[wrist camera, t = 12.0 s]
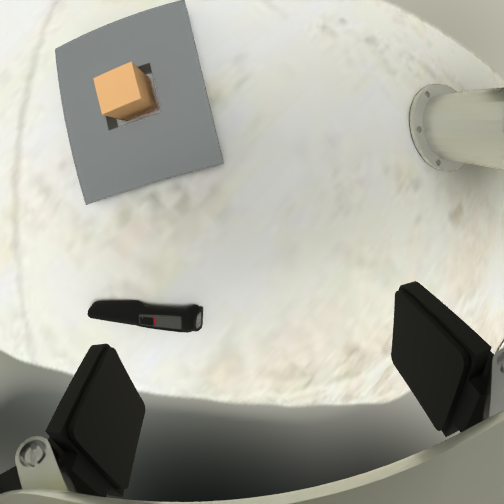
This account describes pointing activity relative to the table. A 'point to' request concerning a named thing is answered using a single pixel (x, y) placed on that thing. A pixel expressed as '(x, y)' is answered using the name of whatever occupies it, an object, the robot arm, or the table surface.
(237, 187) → the table surface
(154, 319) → the electric trimmer
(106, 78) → the peg
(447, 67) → the table surface
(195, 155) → the socket board
